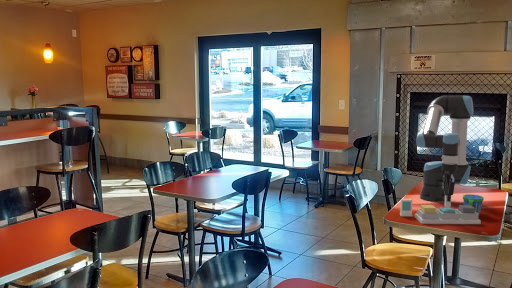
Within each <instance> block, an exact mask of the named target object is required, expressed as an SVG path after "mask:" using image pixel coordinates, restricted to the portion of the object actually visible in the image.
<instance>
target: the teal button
mask: <svg viewBox="0 0 512 288" xmlns="http://www.w3.org/2000/svg"><path fill="white" fill-rule="evenodd" d="M439 209H440V211H441V212H442V213H455V209H454V208H452V207H439Z"/></svg>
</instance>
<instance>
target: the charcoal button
mask: <svg viewBox="0 0 512 288" xmlns="http://www.w3.org/2000/svg"><path fill="white" fill-rule="evenodd" d="M458 209H459V211H460V212H462V213H475V208H474V207H472V206H471V205H464V204H459V205H458Z"/></svg>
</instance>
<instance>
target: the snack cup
mask: <svg viewBox="0 0 512 288" xmlns="http://www.w3.org/2000/svg"><path fill="white" fill-rule="evenodd" d="M484 198H485V197H484V196H482V195H479V194H463V195H462V199H463V200H462V201H463V205H471V206H472V207H474V208H475V212H477V213H478V214H479V215H481V209H482V207H483V206H482V205H483V202H484V200H485V199H484Z"/></svg>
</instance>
